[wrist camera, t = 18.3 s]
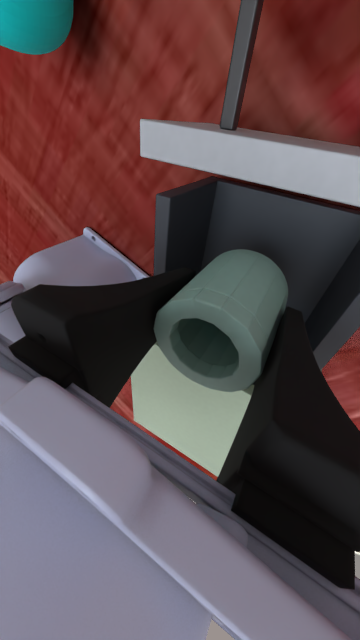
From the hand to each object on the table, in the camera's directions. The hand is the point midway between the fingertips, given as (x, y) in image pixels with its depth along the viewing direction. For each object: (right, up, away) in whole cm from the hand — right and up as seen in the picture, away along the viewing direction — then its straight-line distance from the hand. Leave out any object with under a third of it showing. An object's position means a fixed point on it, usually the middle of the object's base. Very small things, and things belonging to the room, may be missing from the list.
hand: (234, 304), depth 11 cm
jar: (+1, +1, +1) cm, 1 cm away
